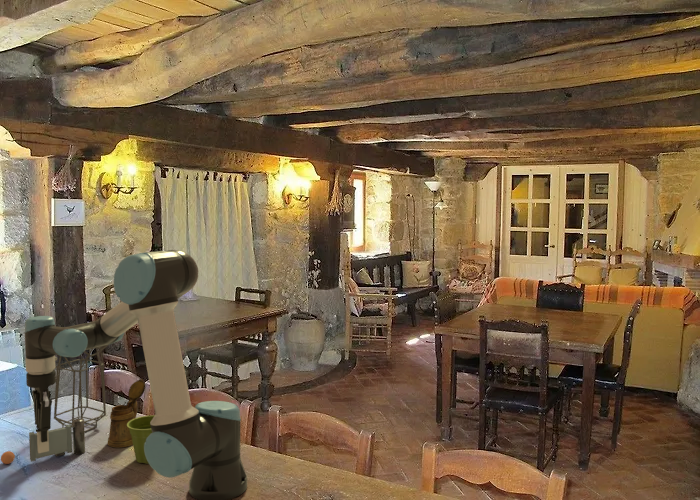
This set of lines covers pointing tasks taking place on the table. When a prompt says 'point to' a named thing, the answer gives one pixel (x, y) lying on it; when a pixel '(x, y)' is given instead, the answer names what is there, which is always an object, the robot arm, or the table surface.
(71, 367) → the geometric lantern
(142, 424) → the plant pot
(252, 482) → the table surface
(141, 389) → the wooden mug
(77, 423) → the hinge post
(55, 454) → the block
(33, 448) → the grey-green flanged panel
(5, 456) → the ball
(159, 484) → the table surface
